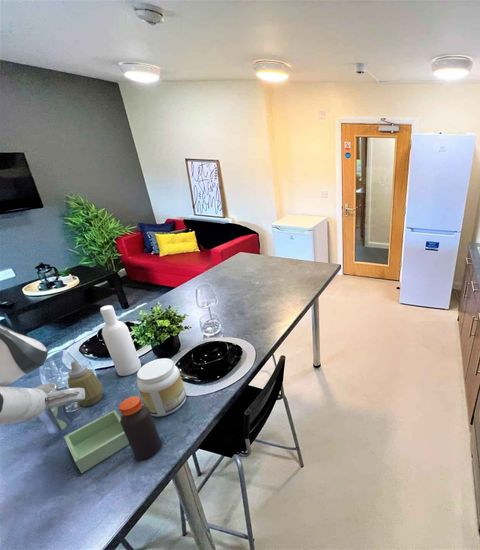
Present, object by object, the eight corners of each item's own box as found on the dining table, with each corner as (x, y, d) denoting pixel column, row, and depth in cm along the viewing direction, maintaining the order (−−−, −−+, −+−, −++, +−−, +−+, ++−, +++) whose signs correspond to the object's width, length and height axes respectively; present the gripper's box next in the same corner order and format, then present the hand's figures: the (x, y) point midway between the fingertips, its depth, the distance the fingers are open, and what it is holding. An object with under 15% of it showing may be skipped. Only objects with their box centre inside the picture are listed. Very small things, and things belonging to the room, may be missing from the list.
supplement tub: (190, 388, 112) (180, 353, 105) (182, 413, 102) (171, 376, 95) (153, 395, 109) (140, 359, 102) (141, 422, 98) (127, 384, 91)
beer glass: (74, 412, 97) (57, 379, 91) (75, 426, 93) (57, 391, 87) (44, 425, 93) (24, 390, 87) (43, 439, 88) (23, 404, 82)
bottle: (144, 368, 121) (122, 307, 108) (120, 379, 115) (95, 315, 103) (137, 360, 125) (116, 300, 113) (115, 369, 119) (89, 307, 107)
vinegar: (138, 443, 91) (118, 397, 83) (163, 436, 94) (146, 390, 86) (132, 463, 86) (110, 416, 77) (159, 455, 88) (141, 408, 80)
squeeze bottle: (102, 388, 111) (85, 350, 103) (109, 398, 106) (92, 360, 99) (73, 401, 105) (53, 362, 97) (80, 413, 100) (59, 373, 93)
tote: (81, 473, 83) (74, 462, 81) (70, 447, 89) (63, 436, 87) (133, 441, 92) (129, 430, 90) (120, 420, 99) (115, 409, 97)
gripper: (73, 381, 84) (93, 383, 96) (-33, 407, 74) (3, 407, 86) (74, 403, 82) (94, 403, 94) (-35, 433, 73) (2, 429, 84)
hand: (50, 405), depth 90 cm, fingers closed on beer glass, 7 cm apart
